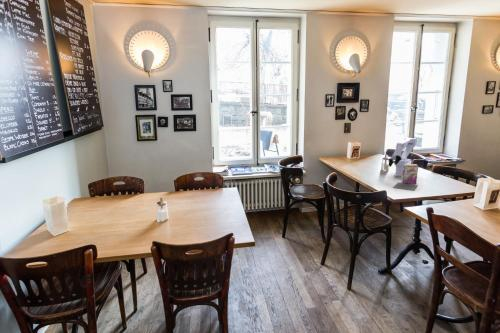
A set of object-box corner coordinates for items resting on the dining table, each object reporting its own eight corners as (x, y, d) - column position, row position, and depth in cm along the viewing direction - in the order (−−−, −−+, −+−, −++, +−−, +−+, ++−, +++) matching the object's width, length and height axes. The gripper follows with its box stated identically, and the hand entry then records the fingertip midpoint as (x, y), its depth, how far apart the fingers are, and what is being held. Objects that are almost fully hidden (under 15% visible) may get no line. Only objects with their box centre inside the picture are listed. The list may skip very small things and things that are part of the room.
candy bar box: (403, 183, 275) (404, 165, 271) (401, 182, 280) (402, 163, 276) (416, 183, 274) (418, 165, 270) (414, 182, 279) (416, 163, 275)
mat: (397, 182, 278) (397, 182, 278) (418, 185, 269) (418, 185, 268) (393, 187, 265) (393, 187, 265) (414, 190, 256) (414, 190, 256)
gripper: (388, 153, 295) (383, 164, 290) (399, 148, 281) (394, 160, 276) (394, 157, 295) (389, 168, 290) (406, 152, 282) (401, 164, 277)
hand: (392, 165), depth 283 cm, fingers open, 7 cm apart
